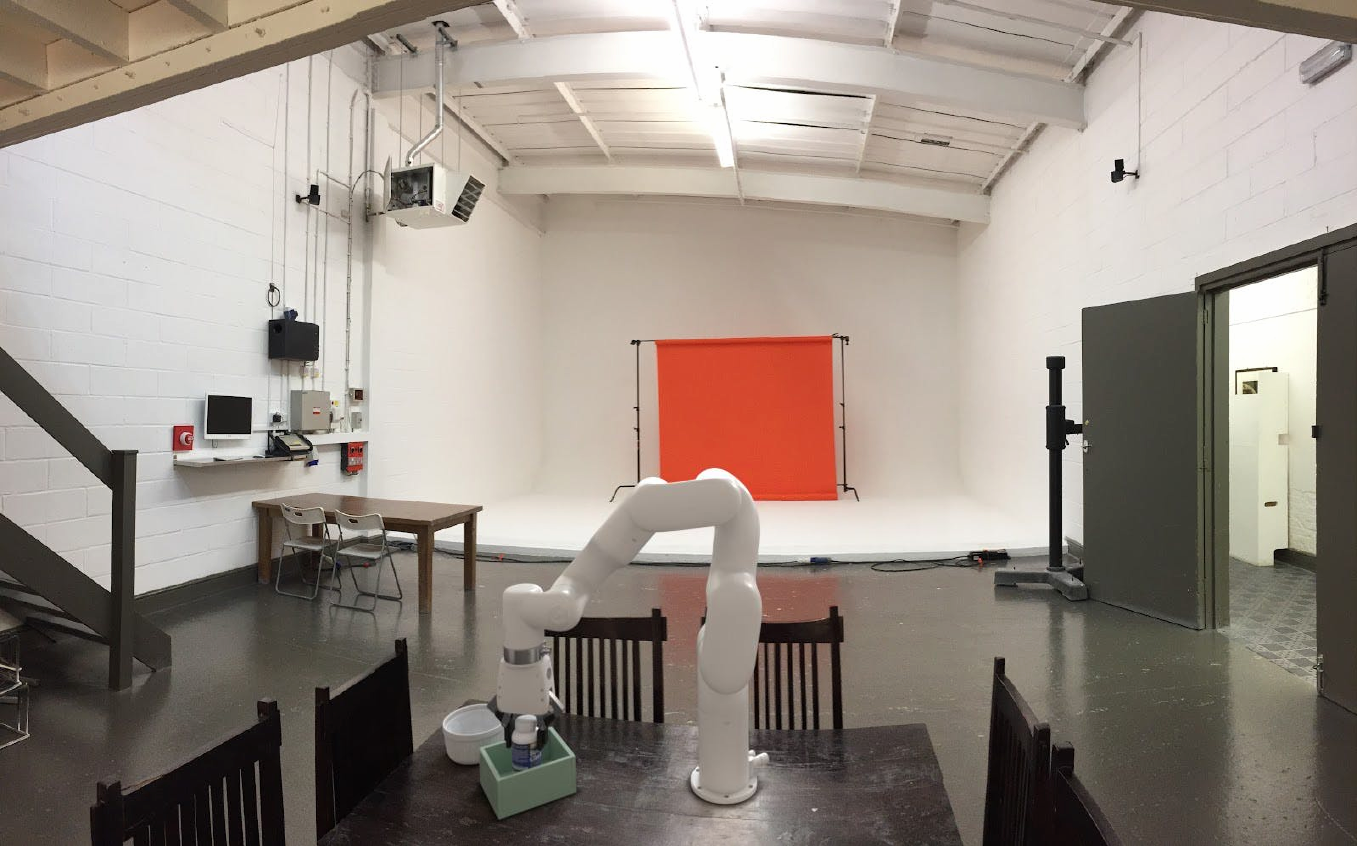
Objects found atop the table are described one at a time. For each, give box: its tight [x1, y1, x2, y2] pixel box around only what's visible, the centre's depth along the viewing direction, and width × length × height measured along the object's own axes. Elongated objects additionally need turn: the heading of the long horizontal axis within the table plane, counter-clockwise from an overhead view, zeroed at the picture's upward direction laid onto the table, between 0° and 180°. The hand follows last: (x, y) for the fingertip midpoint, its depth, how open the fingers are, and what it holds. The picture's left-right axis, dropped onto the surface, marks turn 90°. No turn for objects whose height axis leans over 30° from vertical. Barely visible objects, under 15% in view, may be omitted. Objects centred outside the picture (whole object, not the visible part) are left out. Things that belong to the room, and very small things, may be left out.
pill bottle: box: [512, 714, 541, 773], centre depth 123 cm, size 5×5×10 cm
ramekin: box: [441, 703, 504, 766], centre depth 136 cm, size 13×13×7 cm
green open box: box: [479, 726, 577, 820], centre depth 123 cm, size 15×13×7 cm
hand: (526, 744), depth 123 cm, fingers closed on pill bottle, 5 cm apart
